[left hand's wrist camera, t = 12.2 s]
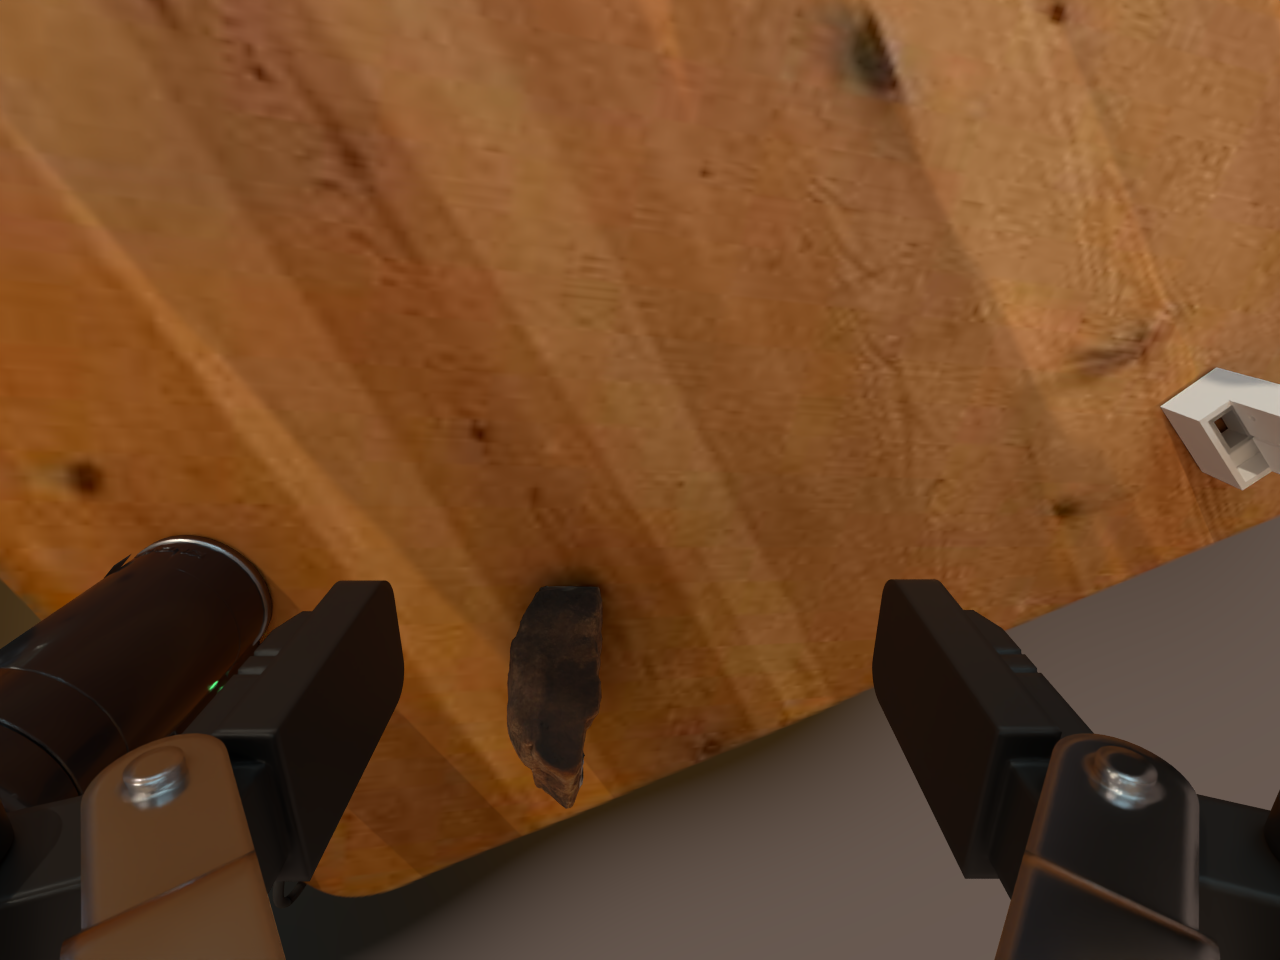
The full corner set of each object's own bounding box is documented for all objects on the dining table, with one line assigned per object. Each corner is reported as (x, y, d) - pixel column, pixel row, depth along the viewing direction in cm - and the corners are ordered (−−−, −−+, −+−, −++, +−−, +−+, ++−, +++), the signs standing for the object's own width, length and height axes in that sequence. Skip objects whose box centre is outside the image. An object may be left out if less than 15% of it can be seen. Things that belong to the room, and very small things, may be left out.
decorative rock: (590, 719, 51) (578, 843, 41) (508, 707, 51) (476, 830, 41) (617, 579, 47) (611, 679, 37) (528, 565, 46) (497, 662, 36)
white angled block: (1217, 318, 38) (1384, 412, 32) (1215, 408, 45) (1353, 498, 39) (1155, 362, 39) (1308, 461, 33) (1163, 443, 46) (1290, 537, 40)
